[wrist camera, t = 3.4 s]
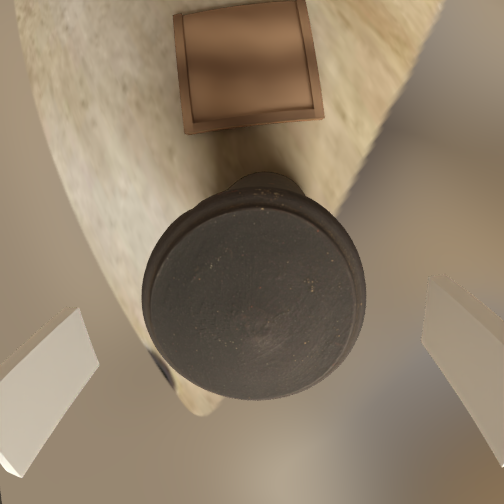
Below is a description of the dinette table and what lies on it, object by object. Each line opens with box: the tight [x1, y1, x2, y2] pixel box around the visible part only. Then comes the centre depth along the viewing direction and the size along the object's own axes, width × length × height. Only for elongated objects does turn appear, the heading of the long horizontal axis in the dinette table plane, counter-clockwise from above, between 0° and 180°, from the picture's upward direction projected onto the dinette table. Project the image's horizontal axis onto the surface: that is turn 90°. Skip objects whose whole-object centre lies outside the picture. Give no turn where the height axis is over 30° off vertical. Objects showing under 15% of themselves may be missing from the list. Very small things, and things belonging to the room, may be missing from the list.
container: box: [142, 172, 366, 400], centre depth 20 cm, size 9×9×20 cm
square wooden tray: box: [173, 0, 325, 135], centre depth 25 cm, size 12×12×2 cm
